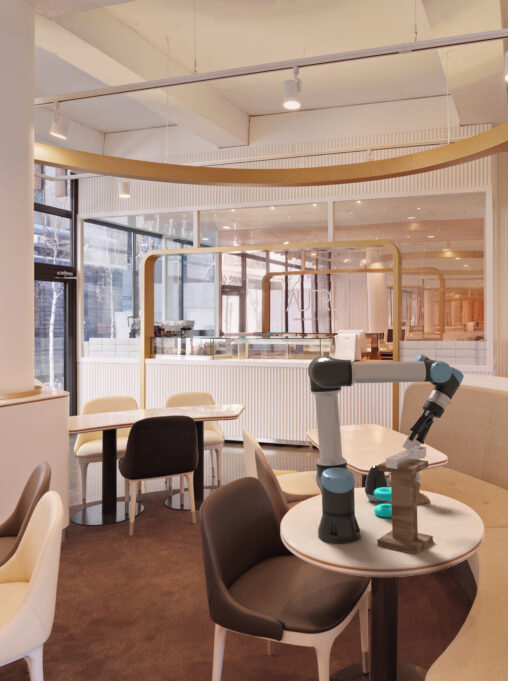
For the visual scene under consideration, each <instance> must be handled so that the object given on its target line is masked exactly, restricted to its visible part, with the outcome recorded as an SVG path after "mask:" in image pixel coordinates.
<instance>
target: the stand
mask: <svg viewBox="0 0 508 681" xmlns="http://www.w3.org/2000/svg"><path fill="white" fill-rule="evenodd" d="M377 466H378V471H385V472H388V473H390V488H391V495H392V501H391V504H392V518H391V525H392V526H391V528H392V529H391V530H390V531H388V532H387V533H385V534H384V535H382V536H381V537H379V538H378V539H376V541H377V542H376V544H377V546H379V547H383V548H386V549H390V548H391V550H396V551H400V552H403V551H404V553H408V554H412V555H419V553H421V552H422V551H423V550H424V549H426V547H428V546H429V545H431V544H433V542H434V536H433V535H430V534H425V533H421V532H420V533H419V532H418V531H419V529H418V528H419V526H418V525H419V524H418V504H417V483H416V473H417V472H418V473H420V472H421V471H422V470H423V471H424V470H425V469H427V468H429V460H421V459H419V460H416V461H413V462H411V463H409V464H407V465H405V466H403V467H400V468H398V469H394V468H387V467H386V461H383V462H382V463H379V464H377Z"/></svg>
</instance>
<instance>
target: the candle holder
mask: <svg viewBox="0 0 508 681" xmlns="http://www.w3.org/2000/svg"><path fill="white" fill-rule="evenodd" d="M425 457H426V456H424V457H422V458H420V459H418V460H421V459H424V458H425ZM419 473H420V472H417V473H416V483H417V505H425V504H427V503H429V500H430V498H429V496H427V495H426V494H425V493H422V492H420V488H421V486H422V485H421V483H420V481H421V477H420V474H419Z"/></svg>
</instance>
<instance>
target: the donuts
mask: <svg viewBox="0 0 508 681" xmlns="http://www.w3.org/2000/svg"><path fill="white" fill-rule="evenodd" d="M374 495H375V497H376V498H378V499H380V500H384V501H386V502H387V501H388V502H390V501H391V502H392V495H391V487H390V488H389V487H382V488H377V489H376V490H375V491H374ZM384 501H383V502H384ZM373 511H374V514H375V515H376V516H378V517H380V518H385V517H386V519H392V518H391V517H392V503H381V504H377V505H376V506H375V507H374V510H373ZM388 517H389V518H388Z"/></svg>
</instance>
